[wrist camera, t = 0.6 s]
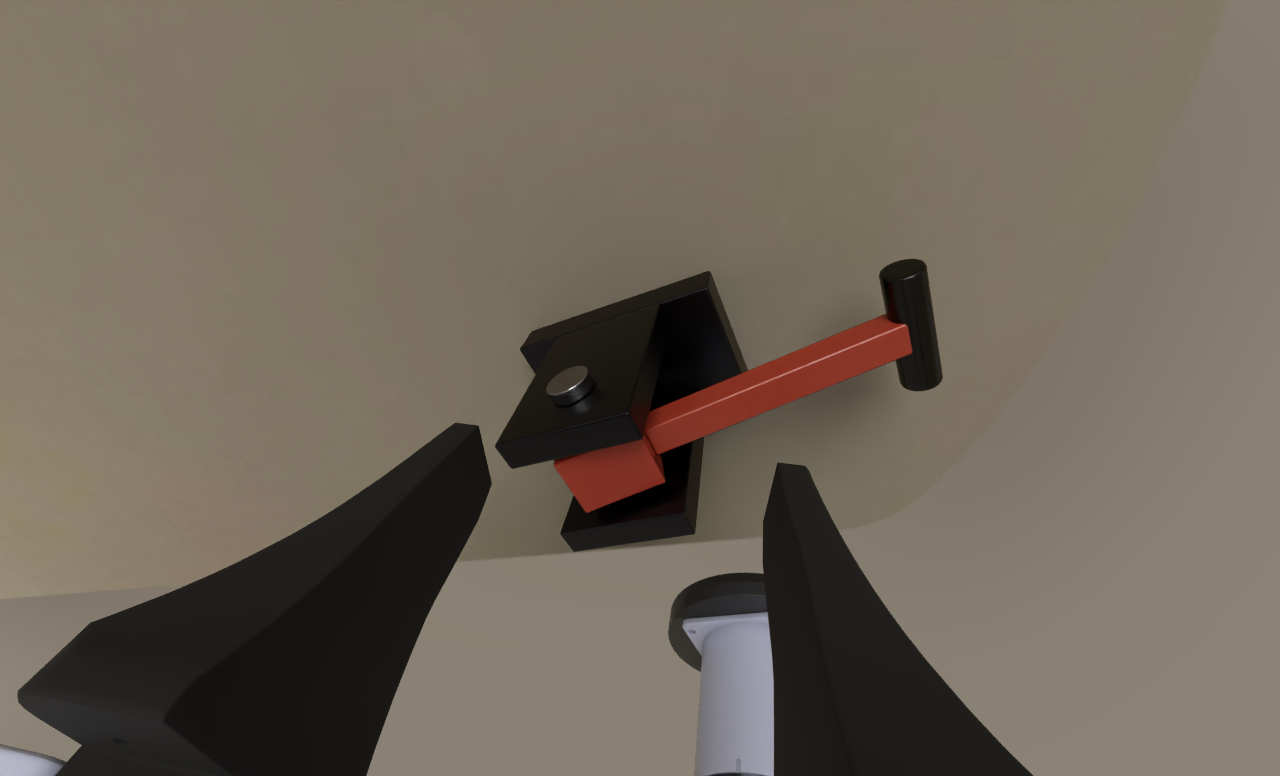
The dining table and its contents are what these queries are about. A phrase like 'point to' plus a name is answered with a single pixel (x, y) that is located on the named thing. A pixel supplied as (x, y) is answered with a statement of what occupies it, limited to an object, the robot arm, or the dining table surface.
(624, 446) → the lever
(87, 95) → the dining table surface
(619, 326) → the bracket
